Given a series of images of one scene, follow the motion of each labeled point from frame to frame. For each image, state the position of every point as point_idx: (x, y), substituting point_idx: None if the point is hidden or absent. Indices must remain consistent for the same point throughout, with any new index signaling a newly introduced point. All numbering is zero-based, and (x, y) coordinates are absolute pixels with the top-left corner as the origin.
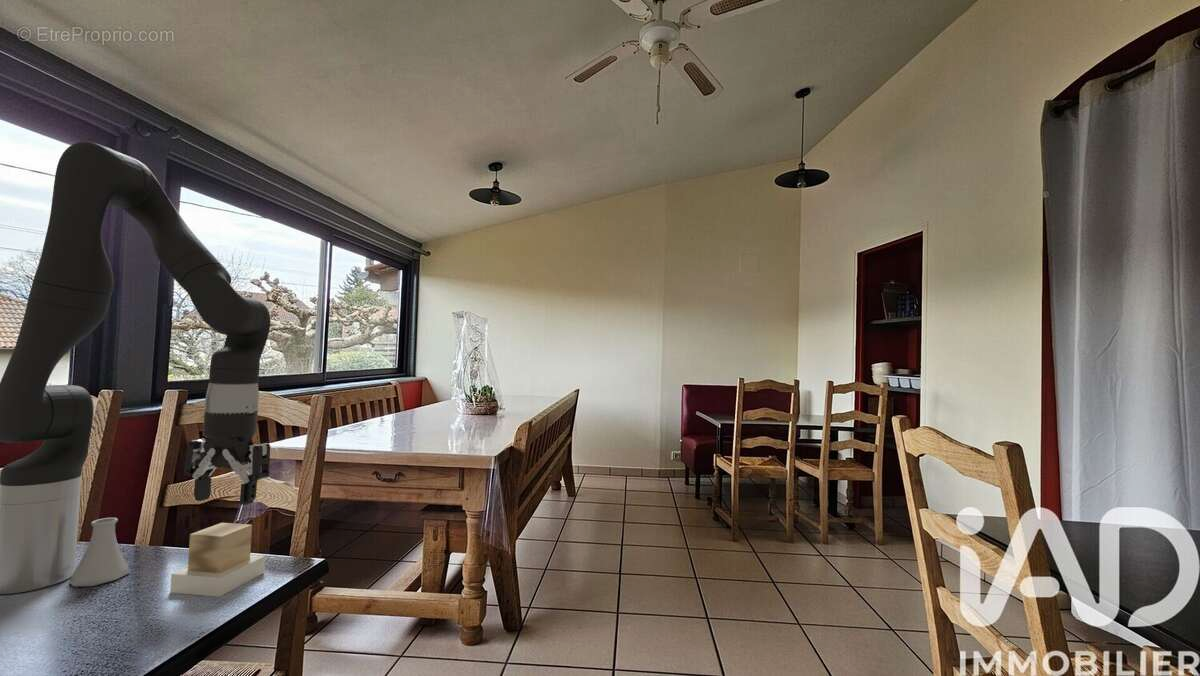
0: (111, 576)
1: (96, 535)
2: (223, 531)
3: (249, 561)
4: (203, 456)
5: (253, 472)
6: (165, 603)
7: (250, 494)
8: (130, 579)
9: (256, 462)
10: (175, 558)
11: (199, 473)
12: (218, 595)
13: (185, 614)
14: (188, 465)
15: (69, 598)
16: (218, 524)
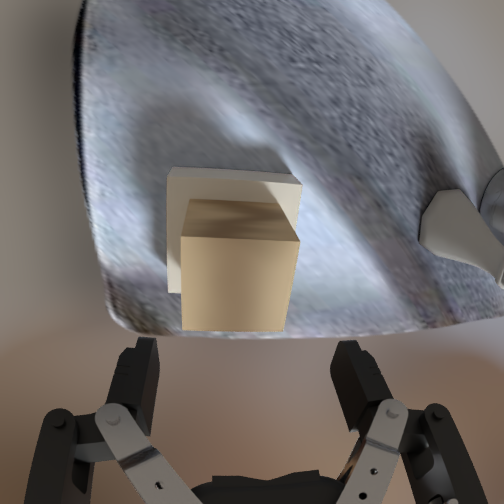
0: (430, 214)
1: (499, 245)
2: (216, 275)
3: (177, 263)
4: (415, 492)
5: (62, 442)
6: (262, 130)
7: (116, 370)
8: (404, 222)
9: (41, 485)
10: (387, 302)
11: (382, 424)
12: (174, 167)
13: (179, 93)
14: (444, 437)
15: (439, 150)
16: (280, 319)
